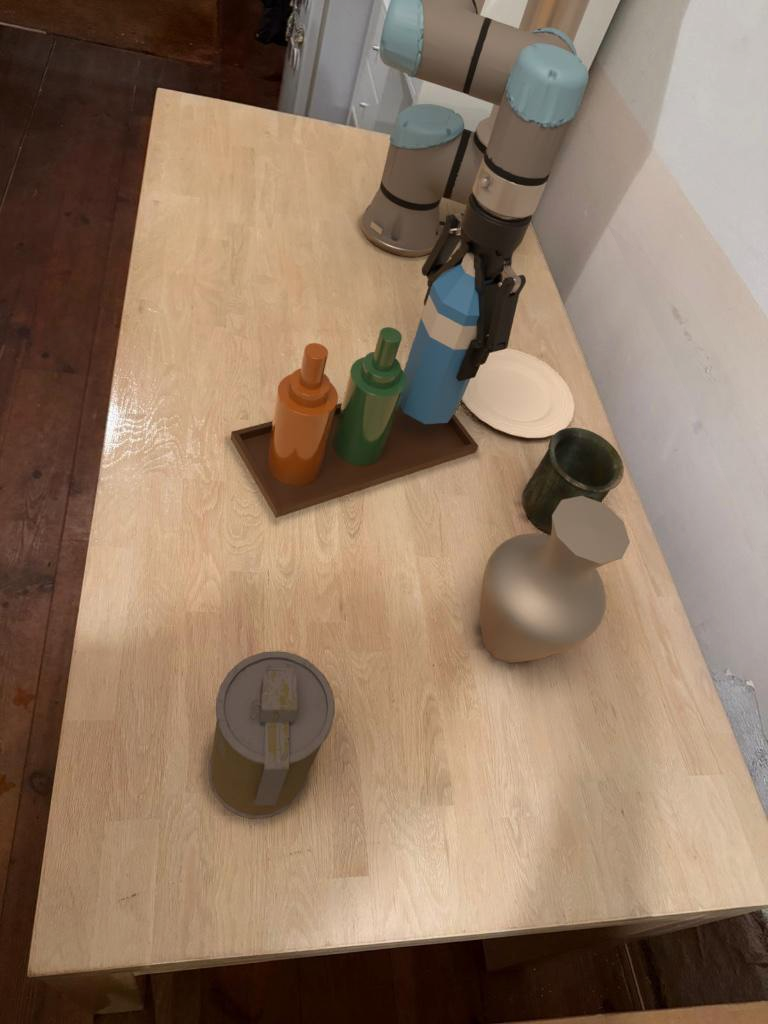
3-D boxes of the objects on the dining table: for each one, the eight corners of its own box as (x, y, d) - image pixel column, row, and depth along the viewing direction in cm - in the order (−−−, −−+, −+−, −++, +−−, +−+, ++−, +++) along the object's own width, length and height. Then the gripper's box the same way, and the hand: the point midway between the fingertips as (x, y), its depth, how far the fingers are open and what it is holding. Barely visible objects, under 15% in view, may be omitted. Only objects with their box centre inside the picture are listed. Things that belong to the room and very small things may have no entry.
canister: (211, 719, 81) (220, 635, 65) (306, 720, 83) (337, 638, 67) (205, 825, 74) (213, 759, 59) (308, 822, 77) (343, 758, 61)
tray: (424, 389, 120) (428, 380, 118) (474, 454, 114) (478, 445, 112) (230, 441, 104) (231, 431, 103) (275, 520, 98) (277, 510, 97)
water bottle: (458, 387, 112) (518, 243, 93) (456, 431, 106) (519, 287, 87) (398, 373, 111) (446, 224, 92) (393, 416, 105) (443, 267, 86)
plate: (583, 390, 129) (588, 382, 127) (551, 465, 116) (556, 457, 114) (476, 337, 131) (479, 329, 129) (432, 406, 118) (435, 397, 116)
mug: (577, 483, 115) (613, 431, 106) (599, 562, 106) (640, 513, 97) (511, 476, 113) (542, 422, 103) (528, 557, 104) (563, 506, 95)
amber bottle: (305, 438, 107) (329, 324, 91) (330, 477, 104) (359, 365, 87) (257, 452, 104) (273, 335, 87) (281, 492, 100) (302, 379, 84)
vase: (531, 715, 90) (631, 616, 70) (431, 647, 92) (501, 533, 73) (575, 631, 98) (674, 522, 79) (482, 571, 101) (557, 451, 81)
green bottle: (367, 421, 112) (400, 309, 96) (393, 457, 109) (431, 348, 92) (323, 433, 108) (350, 320, 92) (348, 471, 105) (380, 361, 89)
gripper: (424, 152, 87) (382, 306, 104) (534, 266, 78) (467, 415, 95) (474, 147, 90) (426, 297, 108) (585, 257, 81) (512, 402, 98)
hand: (445, 352), depth 101 cm, fingers closed on water bottle, 9 cm apart
